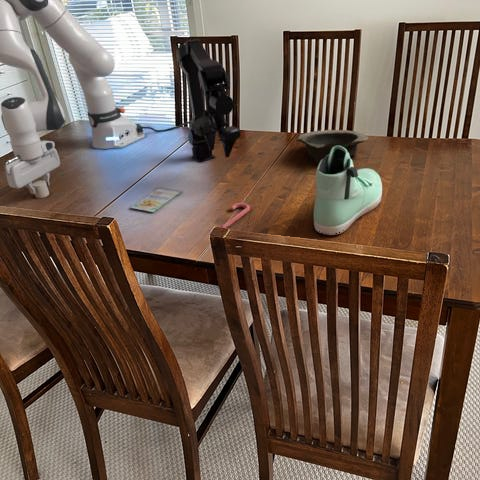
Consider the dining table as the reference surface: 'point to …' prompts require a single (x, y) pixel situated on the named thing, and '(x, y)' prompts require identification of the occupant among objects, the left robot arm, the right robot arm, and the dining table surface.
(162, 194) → the baking ingredient package
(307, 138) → the stone bowl
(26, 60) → the left robot arm
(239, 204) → the candy cane
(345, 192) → the sneaker
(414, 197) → the dining table surface
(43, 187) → the canister
